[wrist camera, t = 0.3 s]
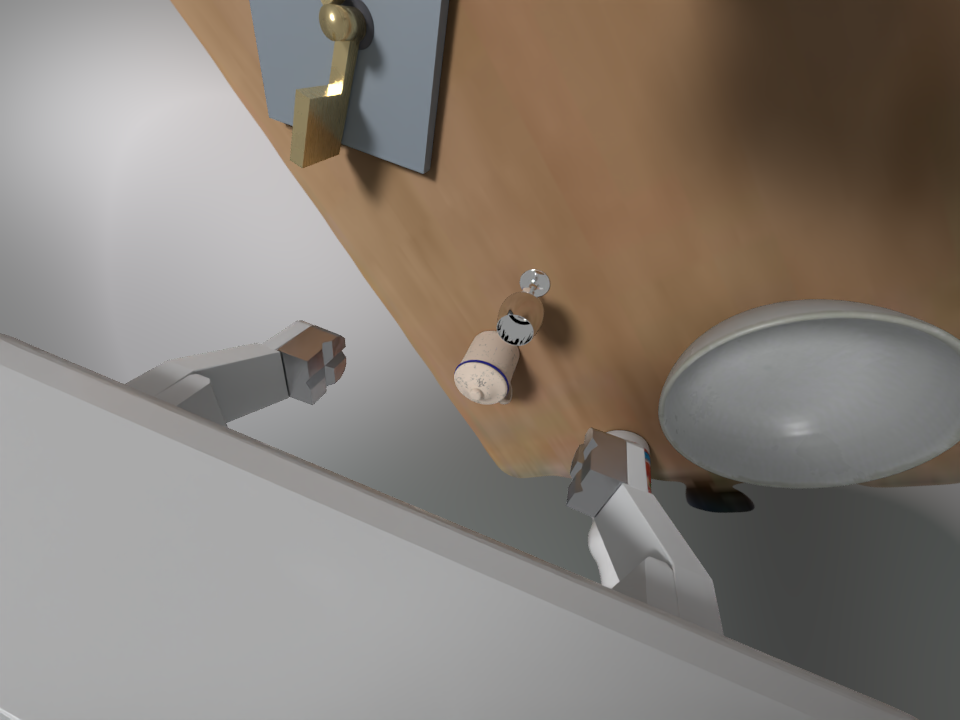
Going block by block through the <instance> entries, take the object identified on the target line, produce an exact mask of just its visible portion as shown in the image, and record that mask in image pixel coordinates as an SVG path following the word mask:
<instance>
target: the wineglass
mask: <svg viewBox="0 0 960 720" xmlns="http://www.w3.org/2000/svg"><path fill="white" fill-rule="evenodd" d="M520 286H521V289H522V290H523V292H516V293H513V294H511V295H510V296H508V297H507V298H506V299H505V300H504V302H503V303H502V305H501V307H500V309H499V313H498V318H497V332H498V335H499V336H500V337H501V339H502V340H504V341H505V342H507V343H508V344H511V345H515V346H521V345H525V344H527V343H528V342H530V341H531V340H532V339H533V337H534V336H535V335H536V334H537V332H538V331H539V329H540V328H541V325H542V323H543V320H544V308H543V305H542V303H541V301H540V300H539V299H538V298H537V297H540V296H543V295H544V294H546V293H547V291H548V290H549V288H550V280H549V278H548V276H547V275H546V274H545V273H544V272H542V271H540V270H537V269H531V270H528V271H526V272H524V273H523V274H522V276H521V278H520Z"/></svg>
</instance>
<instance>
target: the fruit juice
mask: <svg viewBox="0 0 960 720" xmlns="http://www.w3.org/2000/svg"><path fill="white" fill-rule="evenodd" d="M606 433H608V434H611V435H614V436H617V437H620V438H622V439H626V440H629V441H632V442H634V443H637V444H640V445H642V446H643V447H644V453H645V464H646V475H647V485H648V493H651V470H650V450H649V446H648V444H647V442H646V441H645V440H644V439H643V438H642V437H641V436H639V435H637V434H635V433H633V432H629V431H624V430H614V431H609V432H606ZM592 519H593V523H592V526H591V528H590V531H589V535H588V545H589V549H590V552H591V554H592V556H593V557H594V559H595V561H596V562H597V564H598V568H599V572H600V577H601V585H603V586H606V587H608V588H610V589H612V588H613V587H614V586H615V585H616V584H617V583H618V582H620V581H619V579H618V577H617V574H616V572H615V569H614V567H613V565H612V562H611V560H610V557H609V555H608V552H607V550H606V548H605V545H604V543H603V540H602V538H601V535H600V533H599V531H598V528H597V526H596V523H595V521H594V518H593V517H592Z"/></svg>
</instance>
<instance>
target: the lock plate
mask: <svg viewBox="0 0 960 720" xmlns="http://www.w3.org/2000/svg"><path fill="white" fill-rule="evenodd" d="M249 1H250V7H251V13H252V19H253V25H254V31H255V37H256V43H257V48H258V54H259V60H260V66H261V72H262V78H263V84H264V90H265V95H266V101H267V107H268V113H269V118H272V119H275V120H278V121H280V122H283V123H286V124H289V125H291V126H293V118H294V105H295V93H296V89H302V88H309V87H316V86H323V85H329V79H330V72H331V65H332V58H333V51H334V43H335V41H331V40H330V39H328V38H327V37H326V36H325V35H324V33H323V31H322V29H321V27H320V23H319V11H320V9H321V7H322V6H323V4H322V2H321V0H249ZM341 5H343V6H351V7H356V8H357V9H359V10H360V11H361V13H362V14H363V16H364V18H365V21H366V35H365V37H364V38H363V39H362V40H361V41H360V43H359V48H358V53H357V59H356V64H355V70H354V75H353V81H352V86H351V92H350V97H349V103H348V108H347V114H346V119H345V125H344V130H343V136H342V141H341V144H343V145H346V146H349V147H351V148H354V149H357V150H359V151H362V152H365V153H368V154H370V155H373V156H376V157H379V158H381V159H384V160H387V161H390V162H392V163H395V164H398V165H400V166H403V167H406V168H409V169H411V170H414V171H417V172H420V173H422V174H424V173H426V172H427V171H429V170H430V165H431V157H432V148H433V139H434V130H435V121H436V112H437V104H438V95H439V86H440V77H441V68H442V60H443V51H444V42H445V33H446V24H447V16H448V7H449V0H345V1H344V2H343V3H342V4H341Z"/></svg>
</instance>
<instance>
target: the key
mask: <svg viewBox="0 0 960 720" xmlns="http://www.w3.org/2000/svg"><path fill="white" fill-rule="evenodd" d="M344 1H345V0H321V2H322V4H323V6H322V7H321V9H320V11H319V23H320V27H321V29H322V31H323V33H324V35H325V36H326V37H327V38H328V39H330V40H331V41H335V43H334V51H333V58H332V65H331V72H330V79H329V85H323V86H316V87H309V88H302V89H296V93H295V105H294V118H293V130H292V142H291V154H290V160H291V161H292V162H294V163H295V164H297V165H298V166H300V167H301V168H305V167H307V166H310V165H312V164H315V163H318V162H320V161H323V160H326V159H328V158H331V157H334V156H336V155H339V152H340V147H341V141H342V136H343V130H344V125H345V119H346V114H347V108H348V103H349V97H350V92H351V86H352V81H353V75H354V70H355V64H356V59H357V53H358V48H359V43H360V41H361V40H362V39H363V38H364V37H365V35H366V21H365V18H364V16H363V14H362V13H361V11H360V10H359V9H357V8H356V7H351V6H343V5H341V4H342V3H343V2H344Z"/></svg>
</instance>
